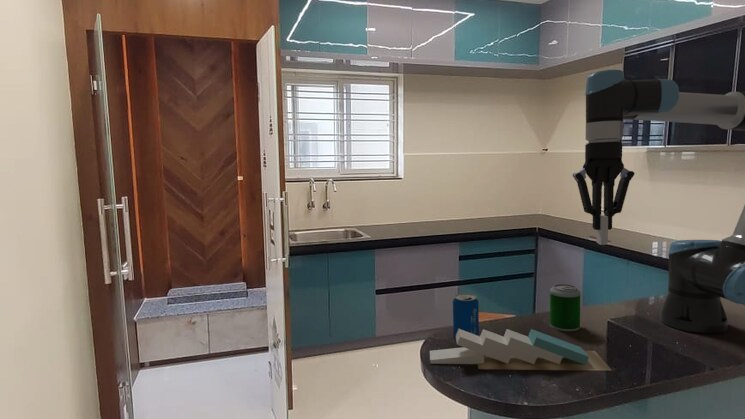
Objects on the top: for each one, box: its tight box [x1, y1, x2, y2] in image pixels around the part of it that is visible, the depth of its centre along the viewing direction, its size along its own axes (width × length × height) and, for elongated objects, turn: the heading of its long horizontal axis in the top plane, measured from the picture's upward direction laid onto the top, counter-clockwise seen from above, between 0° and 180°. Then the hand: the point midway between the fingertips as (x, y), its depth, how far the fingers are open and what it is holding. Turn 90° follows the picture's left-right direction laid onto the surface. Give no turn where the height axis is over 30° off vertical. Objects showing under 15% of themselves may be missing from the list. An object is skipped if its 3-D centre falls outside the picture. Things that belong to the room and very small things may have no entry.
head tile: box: [527, 328, 589, 365], centre depth 102 cm, size 2×5×12 cm
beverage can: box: [452, 292, 480, 340], centre depth 117 cm, size 6×6×12 cm
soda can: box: [549, 283, 581, 332], centre depth 122 cm, size 8×8×12 cm
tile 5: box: [429, 346, 484, 365], centre depth 105 cm, size 2×5×12 cm
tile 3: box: [479, 328, 538, 364], centre depth 104 cm, size 2×5×12 cm
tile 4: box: [455, 329, 511, 364], centre depth 104 cm, size 2×5×12 cm
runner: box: [476, 350, 613, 372], centre depth 103 cm, size 28×10×1 cm, turn 84°
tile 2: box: [503, 328, 563, 364], centre depth 103 cm, size 2×5×12 cm
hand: (601, 243), depth 105 cm, fingers closed
